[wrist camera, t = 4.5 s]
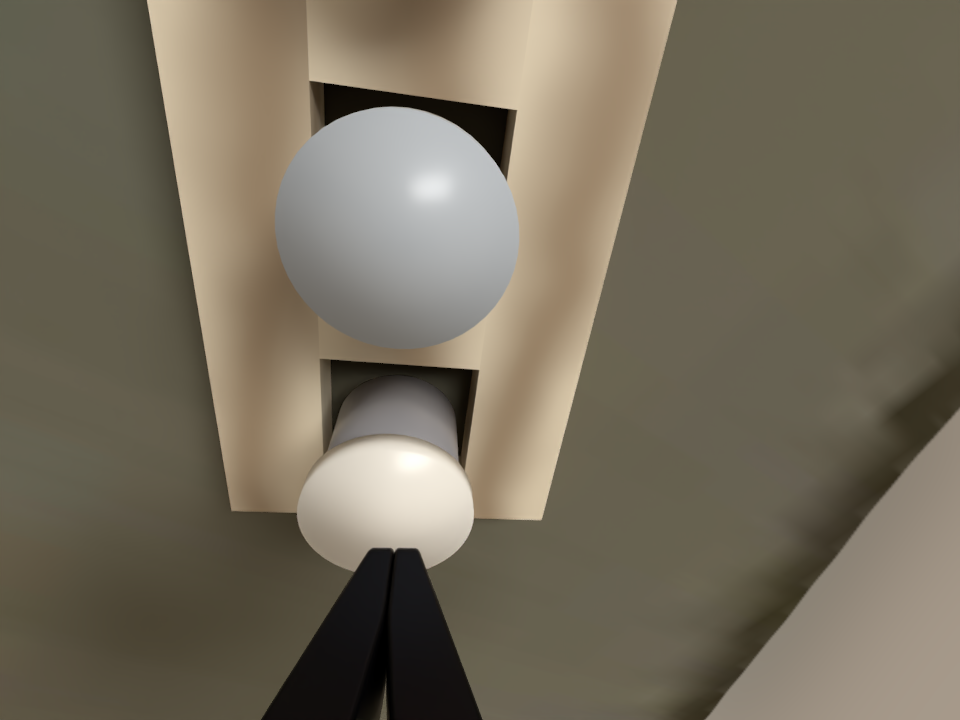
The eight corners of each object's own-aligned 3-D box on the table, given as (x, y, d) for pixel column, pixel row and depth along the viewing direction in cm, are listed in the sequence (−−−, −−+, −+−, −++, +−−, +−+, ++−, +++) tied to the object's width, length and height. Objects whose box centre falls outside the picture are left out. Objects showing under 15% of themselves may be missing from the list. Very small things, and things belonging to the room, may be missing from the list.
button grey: (323, 275, 17) (283, 340, 12) (318, 89, 14) (264, 89, 10) (484, 289, 17) (500, 356, 13) (508, 116, 15) (539, 126, 10)
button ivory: (329, 473, 21) (301, 574, 16) (326, 361, 18) (291, 446, 14) (458, 479, 22) (463, 577, 17) (473, 371, 19) (484, 455, 15)
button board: (247, 479, 23) (231, 510, 21) (101, -580, 10) (26, -729, 8) (533, 490, 25) (541, 520, 23) (745, -389, 11) (801, -475, 10)
